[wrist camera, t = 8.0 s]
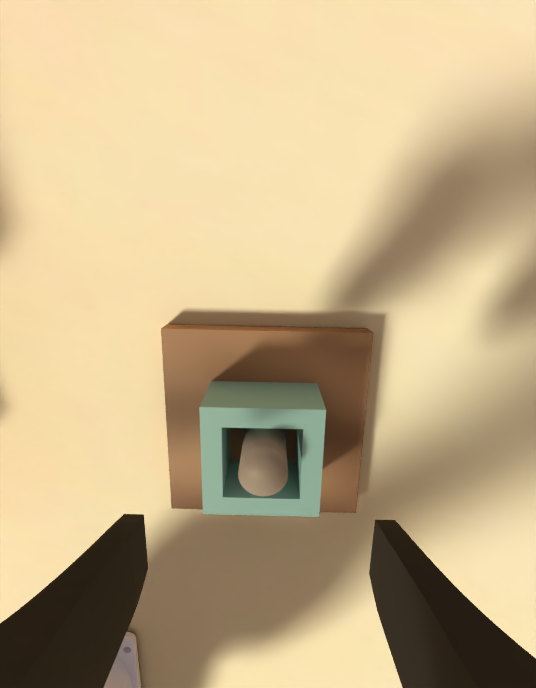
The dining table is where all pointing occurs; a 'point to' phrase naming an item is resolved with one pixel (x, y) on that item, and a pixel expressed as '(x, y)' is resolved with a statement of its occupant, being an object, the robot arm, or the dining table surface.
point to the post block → (267, 366)
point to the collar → (272, 413)
